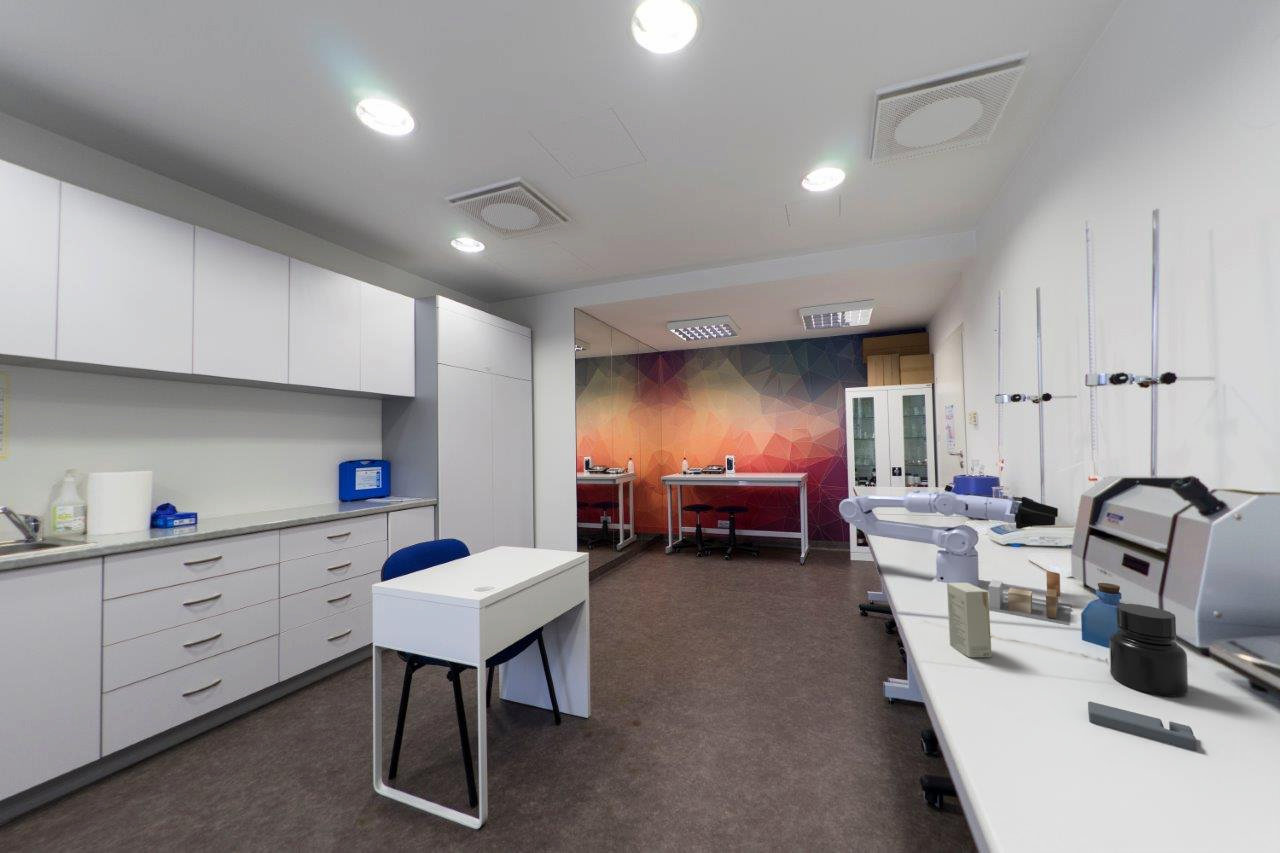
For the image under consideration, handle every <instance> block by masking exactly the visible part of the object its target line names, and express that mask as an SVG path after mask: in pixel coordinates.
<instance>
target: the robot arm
mask: <svg viewBox="0 0 1280 853" xmlns="http://www.w3.org/2000/svg"><path fill="white" fill-rule="evenodd" d="M876 508H905V509H906V510H907V511H908V512H909V513H918V514H920V513H921V514H936V513H939V514H941V515H944V516H945V517H950V516H952V515H954V514H955V515H956V516H957V515H958V516H959V515H960V516H965V517H967V518H968V517H969V518H976V519H983V520H990V521H991V520H992V521H999V522H1005V523H1008V524H1015V528H1016V529H1018V530H1021V529H1025V528H1029V527H1031V528H1032V527H1041V526H1044V527H1045V526H1046V527H1047V526H1048V527H1049V526H1050V527H1051V526H1055V525H1056V518H1057V517H1059V508H1057V507H1055V506H1053V505H1048V504H1045V503H1040V502H1037V501H1035V500H1034V499H1030V498H1029V497H1026V496H1022V497H1021V500H1020V501H1019V500H1015V499H1014V495H1013V494H1010V495H1009V496H1008V498H998V497H997V498H996V497H990V496H982V495H981V496H980V495H969V494H968V495H965V494H957V493H955V492H951V491H943V492H942V493H940V491H938V490H934V491H933V492H923V491H922V492H920V490H919V489H914V490H912V491H910V492H908V493H907V494H906V495H905V496H902V495H886V494H883V495H882V494H865V495H855V496H853V497H850V498H845V499H843V500H841V501H840V503H839V506H838V510H839V514H840V515H841V517H842V518H843V519H844V521H845V523H849V524H852V525H853V526H854V527H856V528H857V529H859V530H860V531H862V532H863V533H864V534H866V535H868V536H873V537H874V536H875V537H880V538H881V537H882V538H887V539H888V538H889V539H895V540H901V541H909V542H915V543H922V544H928V545H935V546H936V547H938V548H941V549H943V550H941V549H940V550H939V549H938V550H937V552H936V560H935V561H936V562H935V563H936V565H935V567H936V571H935V572H936V582H939V583H940V582H941V583H945V584H947V583H970V584H972V585H974V586H977V587H979V584H980V582H979V581H980V580H979V579H980V577H979V575H980V574H979V573H980V572H979V552H978V550H976V547H975V546H976V545H977V544H978V542H979V535H978V533H977V531H976V529H974V527H971V526H970V525H966V524H959V525H956V526H932V525H927V524H925V525H924V524H918V523H909V522H902V521H894V520H885V519H879V518H878V517H877V516H876V514H875V513H874V511H873V510H874V509H876ZM944 549H945V550H944Z"/></svg>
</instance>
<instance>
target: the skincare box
mask: <svg viewBox="0 0 1280 853" xmlns="http://www.w3.org/2000/svg"><path fill="white" fill-rule="evenodd" d="M946 589H947V609H948V611H947V612H948V614H947V615H948V634H949V645H950V646H951V647H953V649H954V648H955V649H956V650H957V651H959V652H960V653H962V654H963V655H965V656H966V657H968V658H992V656H993V655H992V639H991V622H990V621H991V620H990V617H991V616H990V611H989V590H988V591H987V590H985V589H983V588H981V587H979V586H974V585H972V584H970V583H946Z"/></svg>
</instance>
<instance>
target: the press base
mask: <svg viewBox="0 0 1280 853" xmlns="http://www.w3.org/2000/svg"><path fill="white" fill-rule="evenodd" d="M1003 584H1004V582H1003V581H1002V580H997V579H992V580H991V581H990V583H989V584H988V597H989V612H996V613H1001V614H1005V615H1010V616H1017V617H1022V618H1028V619H1032V620H1037V621H1042V622H1043V621H1044V622H1049V623H1053V624H1058V625H1059V624H1060V625H1064V626H1069V627H1070V624H1071V612H1072V603H1065V602H1059V601H1058V606H1057V616H1056V618H1050V617H1046V599H1042V598H1041V599H1040V598H1036V597H1032V612H1031V614H1029V613H1023V612H1018V611H1012V610H1009V608H1008V593H1006V592H1003V591H1004V588H1003V587H1004V585H1003Z"/></svg>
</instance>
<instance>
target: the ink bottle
mask: <svg viewBox="0 0 1280 853" xmlns="http://www.w3.org/2000/svg"><path fill="white" fill-rule="evenodd" d="M1176 619H1177V618H1176V614H1174V613H1172V612H1170V611H1167V610H1165V609H1162V608H1158V607H1154V606H1150V605H1143V604H1135V603H1125V604H1120V605H1117V624H1118V625H1117V627H1118V628H1119V629H1120V630H1119V631H1117V632H1116V633H1113V634H1112V635H1111V636H1110V637H1109V648H1108V649H1109V650H1108V651H1109V673H1110V675H1111V677H1112V678H1114V679H1115V680H1116V681H1118V682H1119V683H1122V684H1123V685H1125V686H1127V687H1130V688H1132V689H1135V690H1137V691H1141V692H1143V693H1147V694H1152V695H1156V696H1157V695H1158V696H1163V697H1164V696H1165V697H1181V696H1185V695H1187V694H1188V692H1189V684H1188V683H1189V681H1188V680H1189V678H1188V676H1189V675H1188V655H1187V652H1186V650H1185V649H1184V648H1183V647H1182V646H1180V645H1179V644H1178V643H1177V642H1176V641H1175V640H1177V624H1176V622H1177V621H1176Z"/></svg>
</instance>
